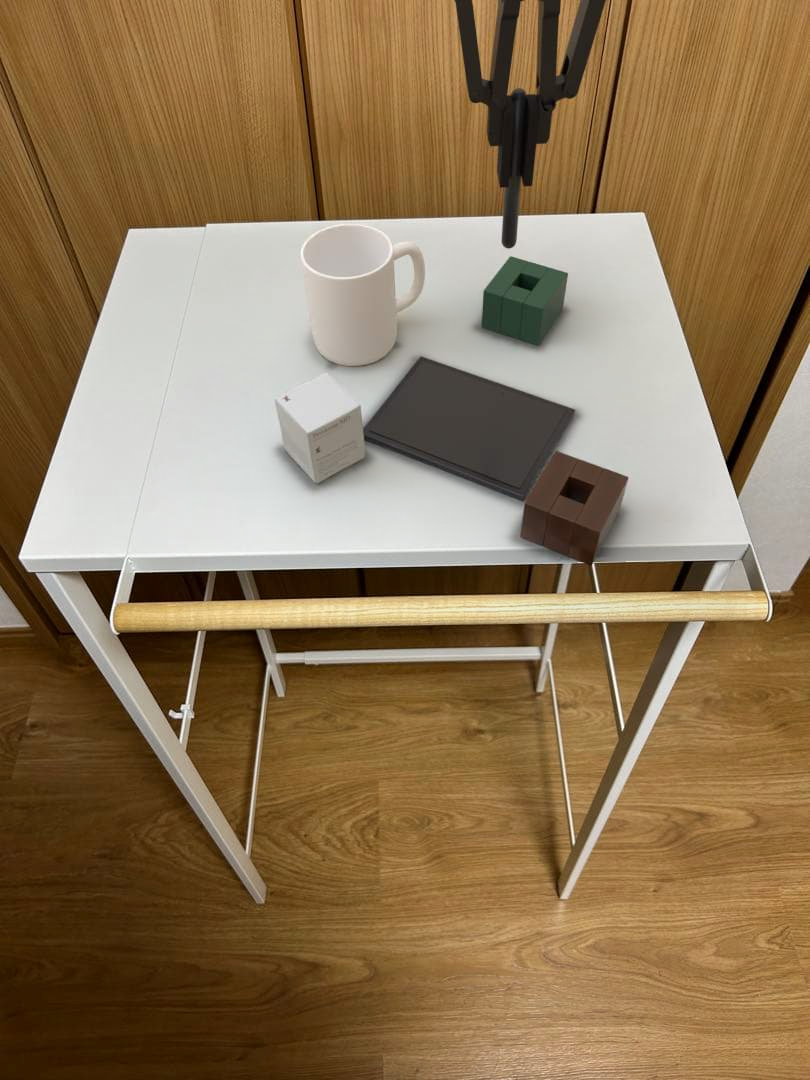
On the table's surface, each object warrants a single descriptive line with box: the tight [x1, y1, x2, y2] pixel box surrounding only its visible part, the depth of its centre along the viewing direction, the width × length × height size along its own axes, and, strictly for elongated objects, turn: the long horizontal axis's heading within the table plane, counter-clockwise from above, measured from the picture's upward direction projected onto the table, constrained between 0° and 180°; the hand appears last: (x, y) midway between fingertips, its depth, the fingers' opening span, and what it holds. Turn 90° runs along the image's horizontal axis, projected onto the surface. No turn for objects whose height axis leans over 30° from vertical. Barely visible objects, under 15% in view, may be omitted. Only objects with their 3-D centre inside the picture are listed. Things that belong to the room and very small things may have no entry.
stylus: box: [501, 87, 527, 250], centre depth 73 cm, size 1×1×14 cm
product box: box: [274, 371, 366, 484], centre depth 80 cm, size 6×6×7 cm
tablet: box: [363, 355, 576, 502], centre depth 85 cm, size 18×13×1 cm
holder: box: [519, 450, 630, 567], centre depth 75 cm, size 7×7×5 cm
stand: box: [481, 256, 569, 346], centre depth 93 cm, size 7×7×5 cm
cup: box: [300, 223, 426, 367], centre depth 89 cm, size 9×14×12 cm
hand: (514, 177), depth 73 cm, fingers closed on stylus
